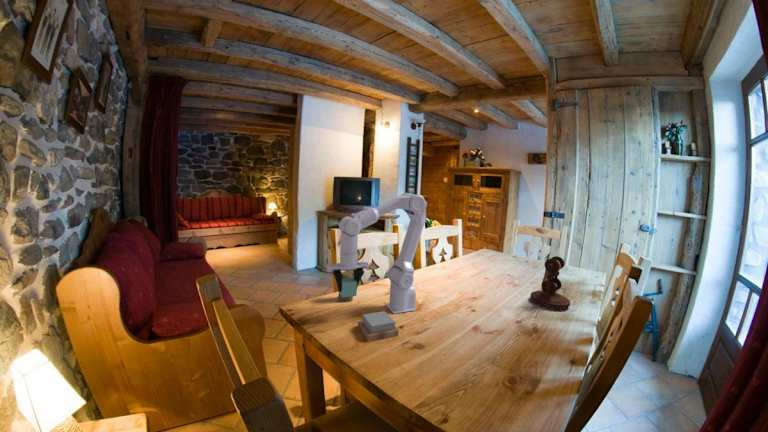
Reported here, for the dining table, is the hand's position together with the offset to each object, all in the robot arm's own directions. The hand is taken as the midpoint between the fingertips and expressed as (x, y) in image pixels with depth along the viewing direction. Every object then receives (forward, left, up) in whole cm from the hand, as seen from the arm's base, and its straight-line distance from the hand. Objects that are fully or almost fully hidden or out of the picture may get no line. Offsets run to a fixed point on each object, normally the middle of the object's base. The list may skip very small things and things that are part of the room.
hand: (347, 290), depth 105 cm
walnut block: (-7, +12, -11) cm, 18 cm away
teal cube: (0, 0, -2) cm, 2 cm away
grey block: (-7, +12, -8) cm, 16 cm away
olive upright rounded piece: (-4, -15, -10) cm, 19 cm away
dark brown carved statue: (-85, +14, -10) cm, 87 cm away
